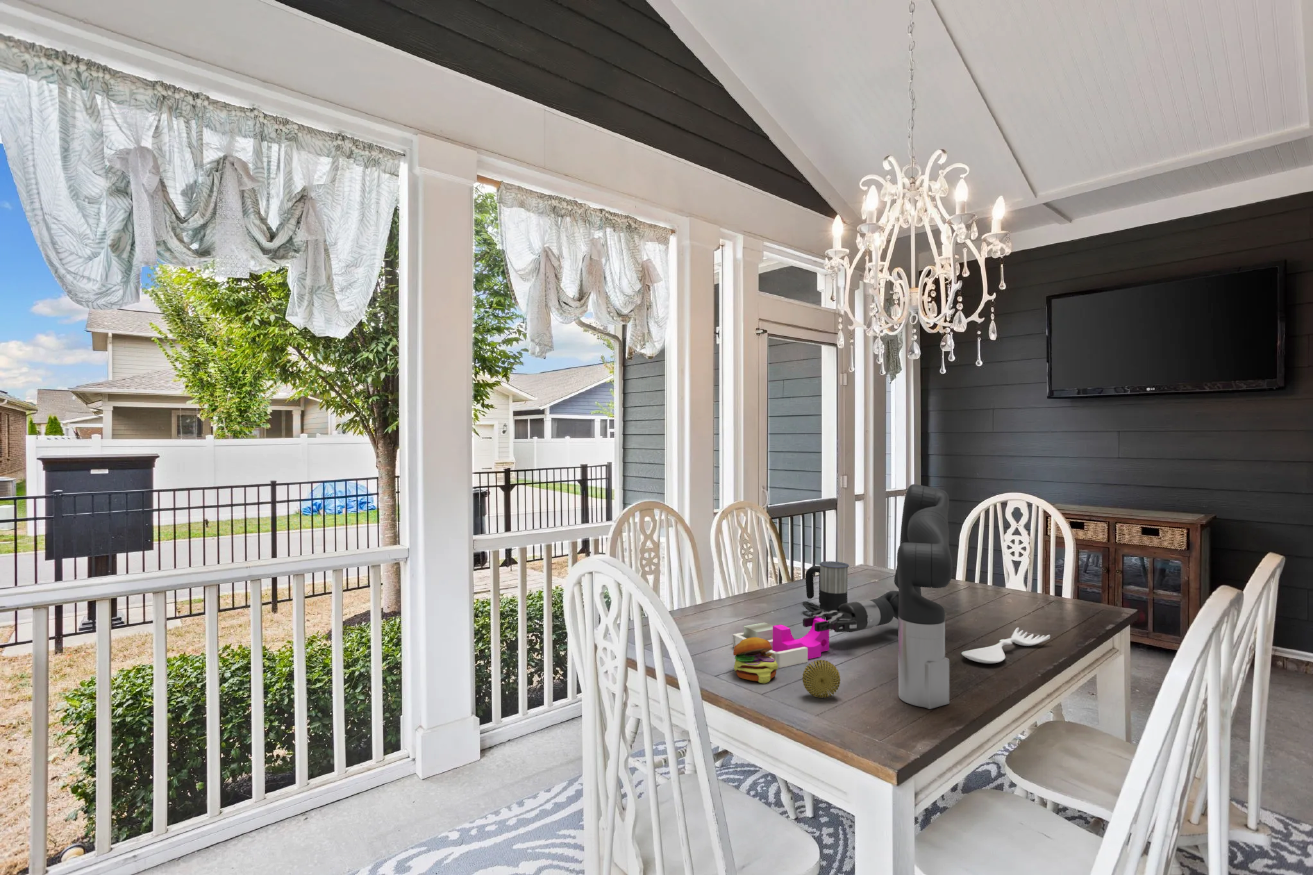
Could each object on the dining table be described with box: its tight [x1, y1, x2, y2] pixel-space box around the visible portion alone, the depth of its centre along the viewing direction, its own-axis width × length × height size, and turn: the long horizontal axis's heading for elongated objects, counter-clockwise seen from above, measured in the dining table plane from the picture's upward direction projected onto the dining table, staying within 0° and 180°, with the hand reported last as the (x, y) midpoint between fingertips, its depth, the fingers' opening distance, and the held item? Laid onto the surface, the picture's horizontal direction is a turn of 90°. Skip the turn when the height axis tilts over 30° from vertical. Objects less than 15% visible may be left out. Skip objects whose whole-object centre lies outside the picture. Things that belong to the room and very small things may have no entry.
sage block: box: [743, 622, 774, 640], centre depth 172 cm, size 6×7×6 cm
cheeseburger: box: [732, 637, 779, 684], centre depth 154 cm, size 10×11×10 cm
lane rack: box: [732, 632, 809, 670], centre depth 168 cm, size 18×10×4 cm, turn 28°
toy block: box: [772, 618, 830, 660], centre depth 168 cm, size 15×6×8 cm, turn 115°
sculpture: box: [802, 659, 841, 699], centre depth 141 cm, size 8×4×8 cm, turn 88°
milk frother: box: [802, 560, 850, 613], centre depth 208 cm, size 14×16×15 cm
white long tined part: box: [961, 627, 1051, 664], centre depth 169 cm, size 9×32×4 cm, turn 126°
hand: (809, 625), depth 170 cm, fingers closed on toy block, 4 cm apart
